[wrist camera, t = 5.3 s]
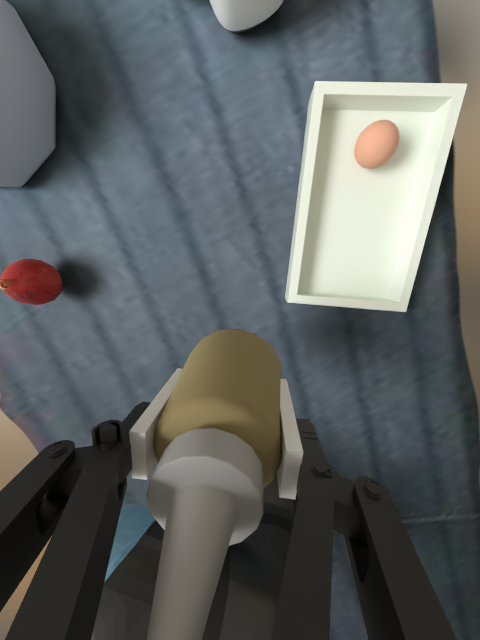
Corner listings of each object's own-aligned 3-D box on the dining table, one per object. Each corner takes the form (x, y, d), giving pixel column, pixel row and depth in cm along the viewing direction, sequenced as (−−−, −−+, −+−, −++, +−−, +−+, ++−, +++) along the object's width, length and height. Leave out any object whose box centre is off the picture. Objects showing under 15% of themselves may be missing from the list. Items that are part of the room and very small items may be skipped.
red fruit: (83, 292, 34) (31, 302, 26) (52, 304, 35) (-8, 317, 27) (64, 253, 32) (4, 252, 25) (32, 266, 33) (-36, 269, 26)
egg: (381, 174, 26) (402, 160, 22) (345, 173, 26) (359, 159, 22) (390, 133, 25) (413, 110, 21) (352, 132, 25) (368, 109, 21)
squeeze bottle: (181, 351, 23) (-58, 624, 6) (242, 300, 21) (167, 471, 4) (233, 407, 24) (166, 780, 7) (295, 363, 22) (422, 716, 5)
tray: (391, 306, 30) (406, 312, 27) (285, 297, 31) (287, 302, 28) (441, 105, 25) (467, 83, 21) (308, 102, 25) (315, 81, 22)
